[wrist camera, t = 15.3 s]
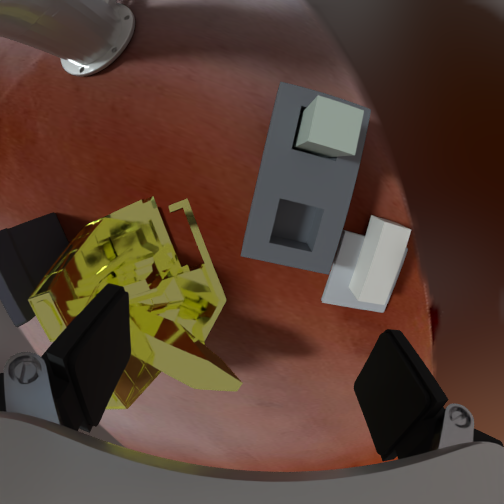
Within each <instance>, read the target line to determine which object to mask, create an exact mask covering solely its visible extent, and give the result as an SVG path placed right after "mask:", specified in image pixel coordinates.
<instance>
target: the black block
mask: <svg viewBox="0 0 504 504" xmlns="http://www.w3.org/2000/svg"><path fill="white" fill-rule="evenodd" d="M68 245H69V242H68V240H67V238H66V236H65V234H64V232H63V229H62V227H61V225H60V223H59V220H58V218H57V216H56V214H55V213H50V214H47V215H44V216H42V217H39V218H36V219H33V220H30V221H28V222H25V223H22V224H20V225H17V226H14V227H12V228H9V229H7V228H6V229H3V230H1V231H0V300H1V302H2V304H3V306H4V308H5V309H6V311H7V313H8V315H9V317H10V318H11V320H12V321H13V323H14V325H15V326H16V327H19V326H21V325H23V324H25V323H26V322H28V321H30V320H31V319H32V318H33V317H34V316H36V315H35V313H34V311H33V309H32V307H31V305H30V303H29V301H28V299H29V297H30V295H31V294H32V292H33V291H34V289H35V288H36V287H37V285H38V284H39V282H40V281H41V280H42V278H43V277H44V275H45V274H46V273H47V271H48V270H49V269H50V267H51V266H52V265H53V264H54V262H55V261H56V260H57V258H58V257H59V256H60V255H61V253H62V252H63V251H64V250H65V248H66V247H67V246H68Z"/></svg>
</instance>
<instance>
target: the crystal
mask: <svg viewBox="0 0 504 504" xmlns="http://www.w3.org/2000/svg"><path fill="white" fill-rule="evenodd" d="M180 208H183V209H184V212H185V214H186V217H187V220H188V222H189V225H190V227H191V230H192V233H193V235H194V238H195V240H196V243H197V245H198V248H199V250H200V253H201V255H202V258H203V260H204V263H203V264H199V265H196V266H193V267H190V268H189V267H188V265H185V266H182V265H181V262H180V260H179V258H178V255H177V253H176V250H175V248H174V245H173V243H172V241H171V238H170V236H169V233H168V231H167V228H166V225H165V223H164V220H163V218H162V215H161V213H160V210H159V207H157V205H156V202H155V200H154V197H153V196H152V197H150V198H148V199H145V200H143V199H142V200H140V201H138V202H135V203H133V204H131V205H129V206H127V207H124V208H122V209H120V210H118V211H116V212H114V213H112V214H110V215H107V216H105V217H103V218H101V219H99V220H96V221H94V222H92V223H90V224H87V225H85V226H84V227H83V228H82V229H81V231H80V232H79V233H78V234H77V235H76V236H75V238H74V239H73V240H72V241H71V242H70V244H69V245H68V246H67V247H66V248H65V250H64V251H63V252H62V253H61V255H60V256H59V257H58V258H57V260H56V261H55V262H54V264H53V265H52V266H51V267H50V269H49V270H48V271H47V273H46V274H45V275H44V277H43V278H42V280H41V281H40V282H39V284H38V285H37V287H36V288H35V289H34V291H33V292H32V294H31V295H30V297H29V299H28V301H29V303H30V305H31V307H32V309H33V311H34V313H35V315H36V317H37V319H38V321H39V323H40V324H41V326H42V328H43V330H44V332H45V333H46V335H47V337H48V339H49V340H50V342H54V341H55V340H56V339H57V337H58V336H59V335H60V334H61V333H62V332H63V331H64V329H65V328H66V327H67V326H68V325H69V324H70V323H71V321H72V320H73V319H74V318H75V317H76V316H77V315H78V314H79V313H80V312H81V311H82V310H83V309H84V308H85V307H86V306H87V305H88V304H89V303H90V301H91V300H92V299H93V298H94V297H95V296H96V295H97V294H98V293H99V292H100V291H101V290H102V289H103V288H104V287H105V286H106V285H107V284H108V283H111V284H115V285H119V286H123V287H124V289H125V291H126V292H128V293H129V318H130V338H131V356H130V359H129V361H128V363H127V365H126V367H125V369H124V371H123V373H122V375H121V377H120V379H119V382H118V384H117V386H116V388H115V390H114V392H113V394H112V396H111V398H110V400H109V402H108V405H107V407H106V409H128V408H129V407H130V406H131V405H132V404H133V402H134V401H135V400H136V399H137V398H138V397H139V396H140V395H141V394H142V393H143V391H144V390H145V389H146V388H147V387H148V386H149V385H150V384H151V383H152V381H153V380H154V379H155V378H156V377H157V376H158V375H159V374H160V373H161V372H164V373H166V374H167V375H169V376H171V377H173V378H175V379H176V380H178V381H180V382H182V383H184V384H186V385H188V386H190V387H192V388H194V389H204V390H219V391H237V390H238V389H239V387H240V386H241V385H242V382H241V381H240V380H239V378H238V377H237V376H236V375H235V374H234V373H233V372H232V371H231V369H230V368H229V367H228V366H227V365H226V364H225V363H224V361H223V360H222V359H221V358H219V357H218V356H217V355H216V354H215V353H213V352H212V351H211V350H210V349H209V348H207V347H206V345H205V343H204V341H205V339H206V337H207V336H208V334H209V332H210V330H211V328H212V326H213V325H214V323H215V321H216V319H217V317H218V315H219V313H220V312H221V310H222V308H223V306H224V304H225V302H226V297H225V295H224V292H223V289H222V287H221V284H220V282H219V279H218V277H217V274H216V272H215V269H214V267H213V264H212V262H211V259H210V257H209V254H208V252H207V249H206V247H205V244H204V241H203V239H202V236H201V234H200V231H199V228H198V226H197V223H196V220H195V218H194V215H193V212H192V210H191V207H190V204H189V202H188V199H185V200H182V201H180V202H177V203H175V204H172V205H170V206H169V209H170V212H172V211H175V210H178V209H180Z"/></svg>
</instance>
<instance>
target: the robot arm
mask: <svg viewBox="0 0 504 504" xmlns="http://www.w3.org/2000/svg"><path fill="white" fill-rule="evenodd" d="M116 1H117V0H0V36H1V37H4V38H7V39H10V40H14V41H17V42H19V43H22V44H25V45H28V46H31V47H34V48H36V49H39V50H42V51H44V52H47V53H49V54H52V55H54V56H57V57H59V58H61V63H62V66H63V68H64V69H65V71H67V72H68V73H70V74H72V75H75V76H88V75H92V74H94V73H97V72H99V71H101V70H102V69H104V68H106V67H107V66H108V65H110V64H111V63H112V62H113V61H114V60H115V59H116V58H117V57H118V56H119V55H120V54H121V53H122V52H123V51H124V49H125V48H126V46H127V45H128V43H129V42H130V39H131V37H132V35H133V32H134V29H135V18H134V15H133V13H132V11H131V10H130V9H129V8H128V7H126V6H125V5H123V4H120V3H116ZM130 356H131V338H130V318H129V293H128V292H126V291H125V289H124V287H123V286H119V285H115V284H111V283H108V284H107V285H106V286H105V287H104V288H103V289H102V290H101V291H100V292H99V293H98V294H97V295H96V296H95V297H94V298H93V299H92V300H91V301H90V303H89V304H88V305H87V306H86V307H85V308H84V309H83V310H82V311H81V312H80V313H79V314H78V315H77V316H76V317H75V318H74V319H73V320H72V321H71V323H70V324H69V325H68V326H67V327H66V328H65V329H64V331H63V332H62V333H61V334H60V335H59V336H58V337H57V339H56V340H55V341H54V342H53V343H52V345H51V346H50V347H49V348H48V349H47V351H46V352H45V353H44V354H43V355H42V357H40V356H39V355H37V354H35V353H31V352H21V353H17V354H15V355H13V356H12V357H11V358H10V359H9V360H8V361H7V362H6V364H5V366H4V373H0V504H504V448H503V447H504V446H503V444H502V442H501V441H500V440H497V439H495V438H493V437H491V436H489V435H487V434H485V433H483V432H481V431H478V430H476V429H474V419H473V416H472V414H471V413H470V412H469V410H468V409H467V408H465V407H464V406H462V405H459V404H450V405H449V406H448V407H446V409H444V407H443V406H444V405H445V403H446V402H447V401H448V398H447V397H446V395H445V393H444V392H443V391H442V389H441V387H440V386H439V384H438V383H437V381H436V380H435V378H434V377H433V375H432V374H431V372H430V371H429V370H428V368H427V367H426V365H425V364H424V362H423V361H422V359H421V358H420V357H419V355H418V354H417V352H416V351H415V350H414V348H413V347H412V345H411V344H410V343H409V341H408V340H407V339H406V337H405V336H404V335H403V333H402V332H401V331H400V330H390V329H387V330H385V331H384V333H382V334H380V336H379V338H378V340H377V342H376V344H375V346H374V348H373V350H372V352H371V354H370V356H369V358H368V359H367V361H366V363H365V365H364V367H363V369H362V370H361V372H360V374H359V376H358V377H357V379H356V381H355V383H354V391H355V394H356V396H357V399H358V401H359V404H360V407H361V409H362V412H363V415H364V417H365V420H366V423H367V426H368V428H369V431H370V434H371V437H372V439H373V442H374V445H375V448H376V451H377V453H378V454H380V455H381V458H382V461H387V460H392V459H395V458H396V457H397V456H398V460H394V461H389V462H384V463H379V464H373V465H367V466H360V467H353V468H345V469H336V470H324V471H307V472H263V471H246V470H234V469H224V468H216V467H209V466H202V465H196V464H190V463H184V462H179V461H175V460H170V459H165V458H161V457H157V456H153V455H149V454H145V453H142V452H138V451H134V450H131V449H127V448H124V447H121V446H118V445H115V444H111V443H108V442H106V441H103V440H100V439H97V438H95V437H92V436H89V435H86V434H84V433H81V432H78V429H79V428H80V429H82V430H84V431H87V432H90V431H91V429H92V426H97V425H98V424H99V422H100V420H101V418H102V415H103V413H104V411H105V409H106V407H107V405H108V402H109V400H110V398H111V396H112V394H113V392H114V390H115V388H116V386H117V384H118V382H119V379H120V377H121V375H122V373H123V371H124V369H125V367H126V365H127V363H128V361H129V359H130Z"/></svg>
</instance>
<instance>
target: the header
mask: <svg viewBox="0 0 504 504" xmlns="http://www.w3.org/2000/svg"><path fill="white" fill-rule="evenodd" d="M318 95H319V96H322V97H325V98H329V99H332V100H335V101H338V102H341V103H344V104H347V105H350V106H352V107H355V108H358V109H361V110H363V111H364V114H363V119H362V124H361V129H360V134H359V138H358V143H357V148H356V152H355V155H352V156H338V157H326V158H325V157H322V156H318V155H315V154H311V153H307V152H304V151H300V150H296V149H292V146H293V141H294V137H295V133H296V128H297V124H298V119H299V116H300V115H301V113H302V112H303V111H304V110H305V109H306V108H307V107H308V106H309V105H310V103H311V102H312V101H313V100H314V99H315V98H316V97H317V96H318ZM370 113H371V109H368V108H366V107H363V106H360V105H358V104H355V103H352V102H349V101H346V100H343V99H340V98H337V97H334V96H331V95H328V94H325V93H321V92H318V91H315V90H311V89H308V88H304V87H300V86H296V85H292V84H288V83H284V82H280V85H279V88H278V92H277V96H276V100H275V104H274V108H273V113H272V117H271V121H270V126H269V130H268V134H267V139H266V143H265V147H264V152H263V156H262V160H261V165H260V169H259V174H258V178H257V182H256V187H255V191H254V196H253V200H252V205H251V209H250V214H249V218H248V223H247V227H246V232H245V236H244V241H243V246H242V252H241V256H243V257H248V258H252V259H257V260H262V261H267V262H271V263H276V264H281V265H285V266H290V267H295V268H300V269H305V270H309V271H314V272H319V273H324V274H329V272H330V269H331V266H332V263H333V260H334V256H335V253H336V250H337V247H338V243H339V240H340V237H341V233H342V230H343V227H344V223H345V220H346V216H347V212H348V209H349V205H350V201H351V197H352V194H353V190H354V186H355V182H356V178H357V174H358V169H359V165H360V161H361V156H362V152H363V147H364V143H365V138H366V133H367V128H368V123H369V118H370Z"/></svg>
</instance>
